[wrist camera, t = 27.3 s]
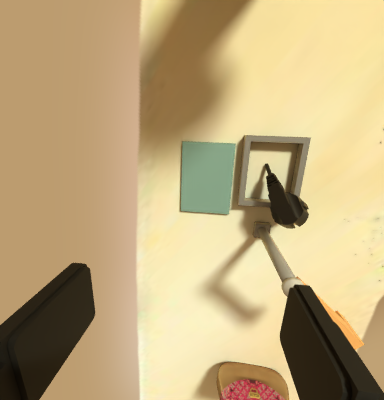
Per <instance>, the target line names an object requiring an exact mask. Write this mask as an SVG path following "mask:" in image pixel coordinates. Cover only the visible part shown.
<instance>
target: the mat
mask: <svg viewBox="0 0 384 400" xmlns="http://www.w3.org/2000/svg"><path fill="white" fill-rule="evenodd" d="M235 145H236V144H233V143H208V142H184V141H182V182H181V211H190V212H204V213H218V214H229V208H230V198H231V187H232V177H233V166H234V156H235Z"/></svg>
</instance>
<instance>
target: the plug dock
mask: <svg viewBox="0 0 384 400" xmlns="http://www.w3.org/2000/svg"><path fill="white" fill-rule="evenodd" d="M310 139H311V138H307V137H279V136H252V135H245V136H244V143H243V152H242V162H241V171H240V181H239V190H238V200H237V203H238V205H243V206H258V207H271V202H270V200H269V199H253V198H245V189H246V180H247V171H248V163H249V154H250V145H251V141H252V142H278V143H299V146H298V152H297V157H296V163H295V169H294V174H293V180H292V185H291V191H290V193H291V194H294V195H296V196H298V197H299V196H300V191H301V186H302V180H303V175H304V170H305V165H306V160H307V155H308V149H309V144H310ZM270 227H271V224H270V223H263V222H255V224H254V232H253V236H254V237H258V238H261V240H262V242H263V244H264V246H265V248H266V250H267V252H268V254H269V256H270V258H271V260H272V262H273V264H274V266H275V268H276V270H277V272H278V275H279V277H280V279H281V281H282V283H283V281H284V280H286V279H287V278H291V277H295V276H294V274H293V272H292V271H291V269H290V267H289V266H288V264H287V262H286V261H285V259H284V258H283V256H282V254H281V253H280V251H279V249H278V248H277V246H276V244H275V243H274V241H273V239H272V238H271V236H270ZM295 278H296V277H295Z"/></svg>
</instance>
